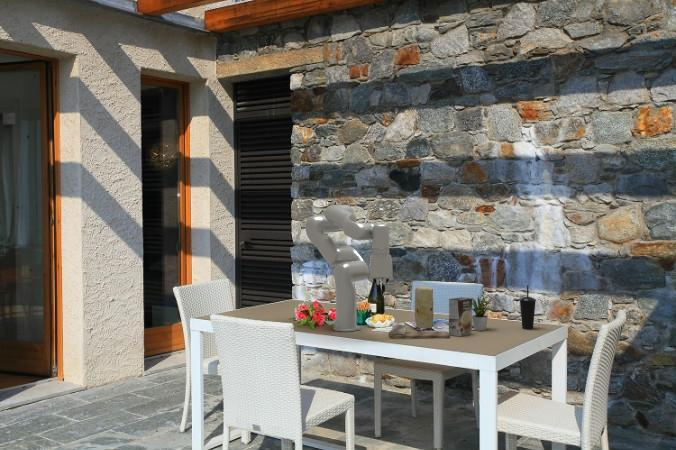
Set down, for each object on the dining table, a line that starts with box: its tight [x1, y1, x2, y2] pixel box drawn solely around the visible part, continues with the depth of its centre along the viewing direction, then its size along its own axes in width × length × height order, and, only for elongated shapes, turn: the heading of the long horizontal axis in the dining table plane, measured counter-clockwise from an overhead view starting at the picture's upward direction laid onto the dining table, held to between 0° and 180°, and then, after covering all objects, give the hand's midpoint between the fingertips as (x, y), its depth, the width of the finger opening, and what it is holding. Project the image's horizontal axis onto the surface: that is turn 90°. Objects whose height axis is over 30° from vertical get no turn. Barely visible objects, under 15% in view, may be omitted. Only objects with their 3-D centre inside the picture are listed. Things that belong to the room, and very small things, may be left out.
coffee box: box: [448, 297, 473, 337], centre depth 328 cm, size 9×6×16 cm
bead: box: [391, 322, 406, 334], centre depth 324 cm, size 5×6×4 cm
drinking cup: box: [518, 285, 537, 330], centre depth 340 cm, size 8×8×20 cm
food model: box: [414, 285, 434, 329], centre depth 342 cm, size 10×7×20 cm
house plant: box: [470, 293, 494, 332], centre depth 338 cm, size 14×14×16 cm
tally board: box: [388, 330, 451, 340], centre depth 324 cm, size 26×10×1 cm, turn 89°
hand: (381, 293), depth 324 cm, fingers closed
